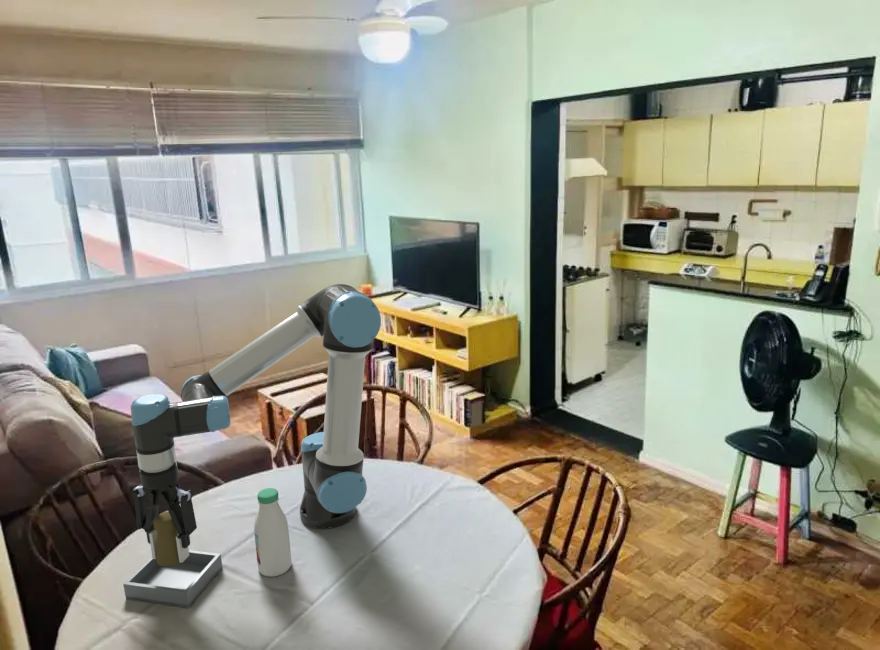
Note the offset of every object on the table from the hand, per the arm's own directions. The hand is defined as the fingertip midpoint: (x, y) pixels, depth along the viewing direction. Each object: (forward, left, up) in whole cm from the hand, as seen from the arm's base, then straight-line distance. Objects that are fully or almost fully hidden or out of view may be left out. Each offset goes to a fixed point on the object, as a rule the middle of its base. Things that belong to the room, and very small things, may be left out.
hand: (171, 556), depth 138 cm
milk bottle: (-20, -10, -7) cm, 23 cm away
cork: (0, 0, 0) cm, 0 cm away
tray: (0, 0, -7) cm, 7 cm away
